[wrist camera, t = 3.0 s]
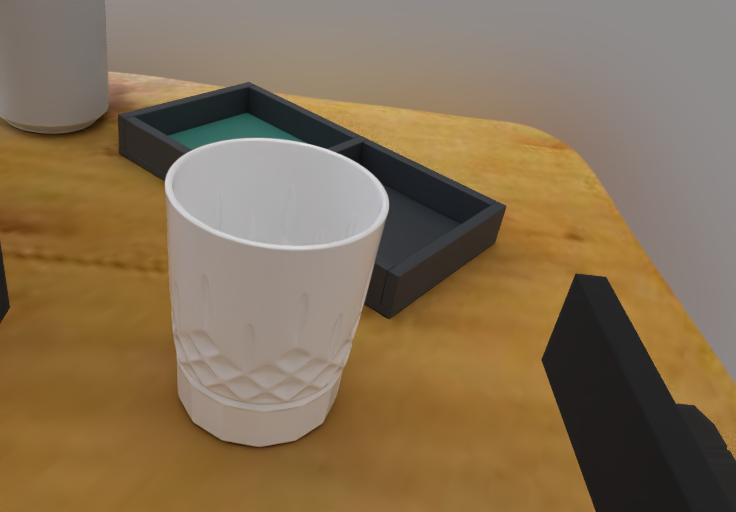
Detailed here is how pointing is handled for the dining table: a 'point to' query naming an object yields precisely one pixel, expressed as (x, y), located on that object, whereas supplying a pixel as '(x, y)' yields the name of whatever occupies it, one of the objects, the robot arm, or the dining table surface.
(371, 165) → the divided tray
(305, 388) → the white cup
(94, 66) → the can
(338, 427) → the dining table surface
